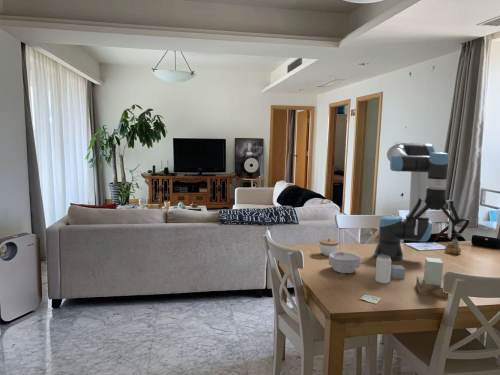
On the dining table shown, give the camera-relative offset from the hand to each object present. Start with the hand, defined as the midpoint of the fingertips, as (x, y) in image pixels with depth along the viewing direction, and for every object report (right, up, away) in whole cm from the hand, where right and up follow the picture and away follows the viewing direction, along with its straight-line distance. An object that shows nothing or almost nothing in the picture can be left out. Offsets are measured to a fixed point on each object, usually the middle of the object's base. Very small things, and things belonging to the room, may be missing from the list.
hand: (432, 235), depth 163 cm
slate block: (-10, -22, +15) cm, 28 cm away
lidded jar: (-36, -17, +49) cm, 63 cm away
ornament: (+40, -18, +56) cm, 71 cm away
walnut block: (-1, -24, -2) cm, 24 cm away
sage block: (-1, -20, -3) cm, 20 cm away
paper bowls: (-34, -21, +22) cm, 45 cm away
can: (-19, -23, +8) cm, 31 cm away
